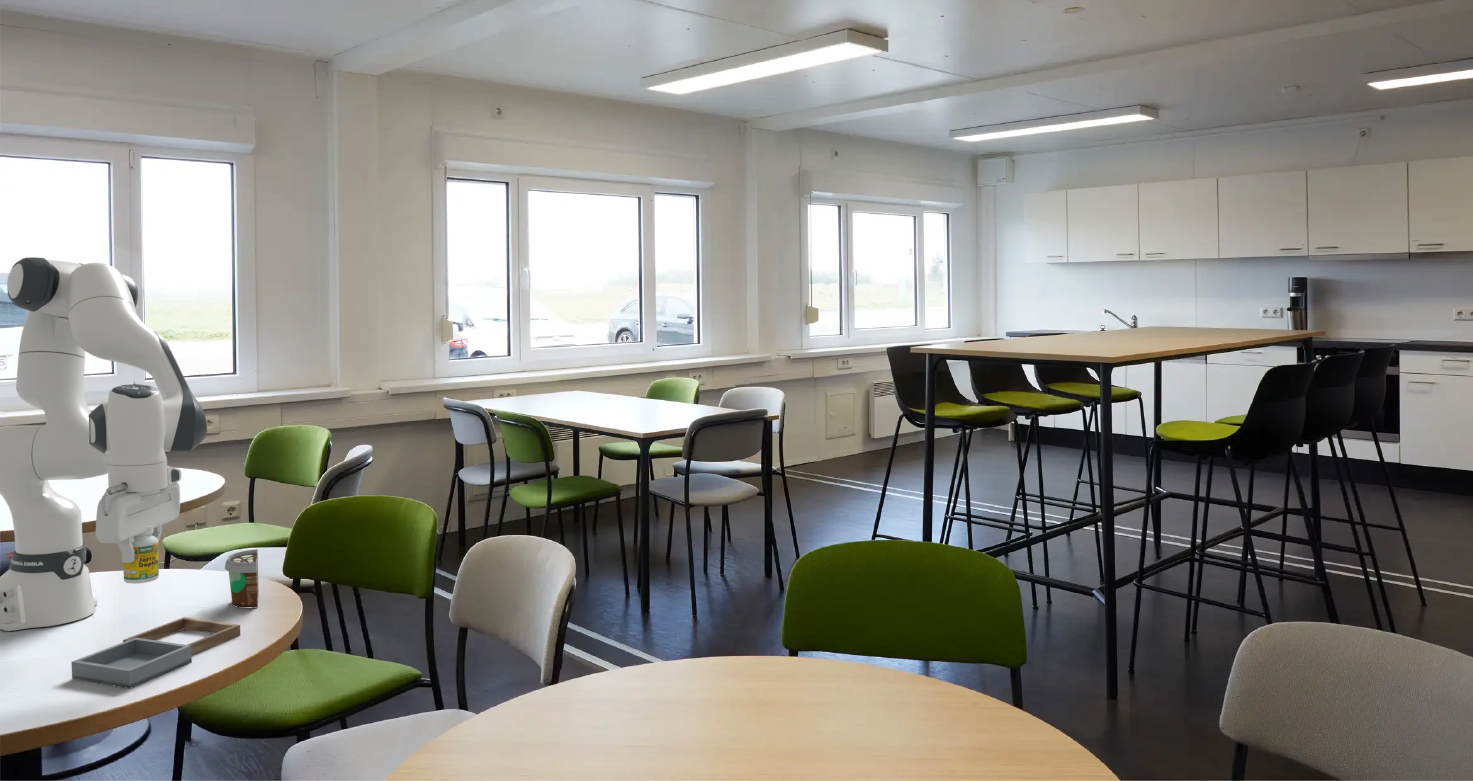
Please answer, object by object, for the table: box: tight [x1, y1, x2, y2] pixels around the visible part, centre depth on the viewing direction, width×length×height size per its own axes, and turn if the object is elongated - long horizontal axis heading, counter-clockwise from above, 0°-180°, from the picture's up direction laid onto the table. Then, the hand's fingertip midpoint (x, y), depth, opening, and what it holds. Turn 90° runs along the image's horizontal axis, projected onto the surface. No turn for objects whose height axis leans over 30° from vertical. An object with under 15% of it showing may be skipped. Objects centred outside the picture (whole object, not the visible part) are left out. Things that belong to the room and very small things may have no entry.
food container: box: [224, 548, 260, 608], centre depth 208 cm, size 12×6×10 cm, turn 25°
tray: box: [71, 638, 193, 689], centre depth 171 cm, size 13×13×3 cm
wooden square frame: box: [122, 616, 241, 656], centre depth 185 cm, size 14×14×2 cm
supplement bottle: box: [122, 526, 160, 584], centre depth 172 cm, size 5×5×10 cm
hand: (140, 556), depth 172 cm, fingers closed on supplement bottle, 5 cm apart
